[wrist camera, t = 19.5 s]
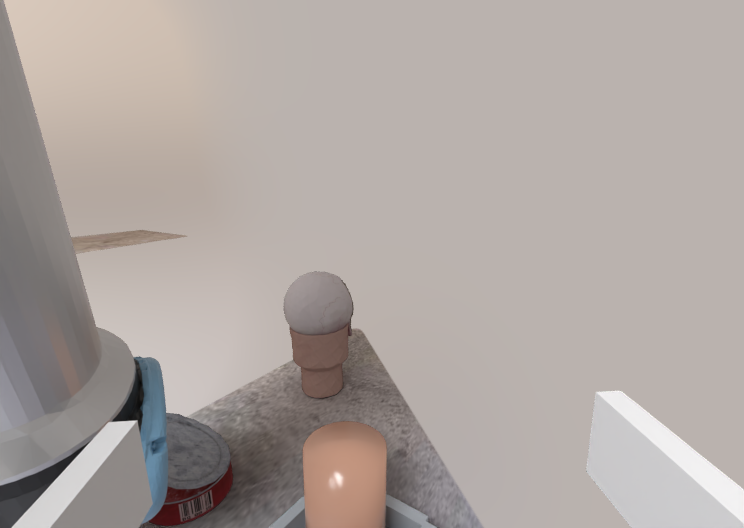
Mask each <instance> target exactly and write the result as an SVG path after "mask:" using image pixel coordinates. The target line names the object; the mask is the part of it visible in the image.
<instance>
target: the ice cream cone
mask: <svg viewBox="0 0 744 528" xmlns="http://www.w3.org/2000/svg"><path fill="white" fill-rule="evenodd" d="M284 314H285V318H286V320H287V322H288V324H289V325H290V334H291V337H292V348H293V360H294V362H295V363H296V364H297V365H298V366H300V367H301V373H302V389H303V391H304V393H305V394H307V395H308V396H311V397H313V398H324V397H329V396H332V395H335V394H337V393H338V392H339V391H340V390H341V389H342V388H343V372H342V363H343V362H344V361H345V360H346V359H347V357H348V336H351V335H352V330H351V317H352V315H353V302H352V298H351V295H350V293H349V291H348V289H347V287H346V285H345V283H343V281H342V280H341V279H340V278H339V277H338V276H336V275H334V274H330V273H327V272H317V271H315V272H310V273H307V274H304V275H302V276H300V277H299V278H298V279H297V280H295V281H294V282H293V283H292V284H291V286H290V287H289V288H288V290H287V293H286V295H285V298H284Z"/></svg>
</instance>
